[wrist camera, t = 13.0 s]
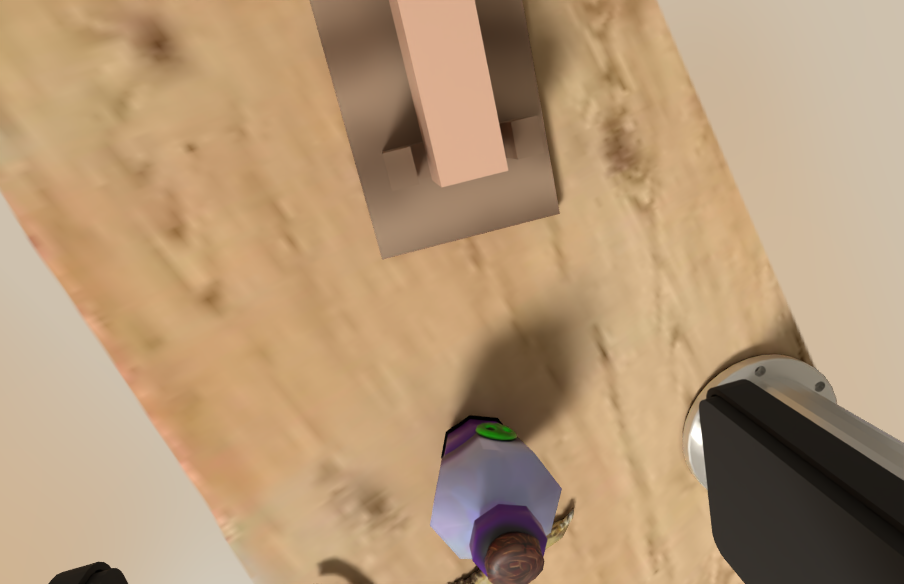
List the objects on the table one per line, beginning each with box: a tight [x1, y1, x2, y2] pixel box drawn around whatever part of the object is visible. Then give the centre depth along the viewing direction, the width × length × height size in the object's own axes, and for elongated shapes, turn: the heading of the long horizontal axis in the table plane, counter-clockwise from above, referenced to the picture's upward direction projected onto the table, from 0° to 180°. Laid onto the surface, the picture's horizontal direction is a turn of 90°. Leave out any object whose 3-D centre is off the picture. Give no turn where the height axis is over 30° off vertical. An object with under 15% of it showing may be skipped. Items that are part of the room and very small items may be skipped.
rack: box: [310, 0, 560, 259], centre depth 30 cm, size 24×12×6 cm, turn 13°
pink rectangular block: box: [389, 0, 508, 187], centre depth 27 cm, size 16×4×5 cm, turn 13°
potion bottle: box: [430, 415, 562, 584], centre depth 35 cm, size 9×9×12 cm
